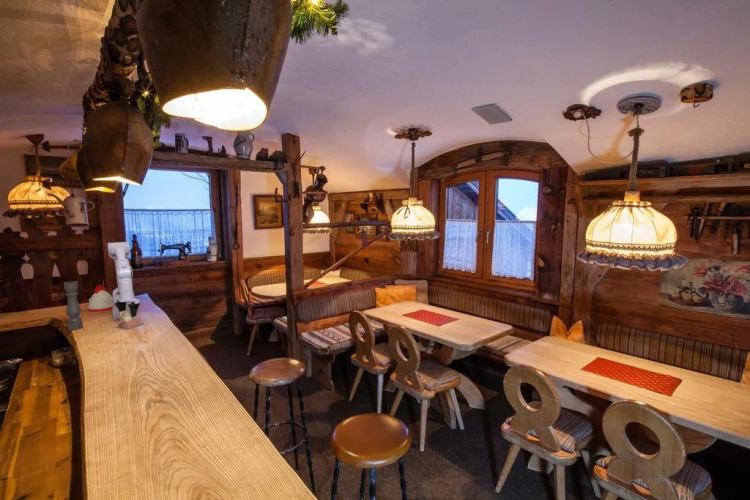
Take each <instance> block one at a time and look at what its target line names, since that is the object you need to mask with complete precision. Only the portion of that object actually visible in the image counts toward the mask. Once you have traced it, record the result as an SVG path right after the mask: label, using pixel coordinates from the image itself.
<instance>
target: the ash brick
mask: <svg viewBox="0 0 750 500" xmlns="http://www.w3.org/2000/svg"><path fill="white" fill-rule="evenodd" d="M135 319H138V317H137V315H136V316H135V317H132V316H131V312H130V310H126V311H123V312H120V319H119V321H120V322H129V321H132V320H135Z"/></svg>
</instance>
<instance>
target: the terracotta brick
mask: <svg viewBox="0 0 750 500" xmlns="http://www.w3.org/2000/svg"><path fill="white" fill-rule="evenodd" d="M140 323H141V319H140V318H137V319H135V320H132V321H129V322H120V320H118V321H117V326H118V327H120V328H127V329H128V328H131V327H134V326H137V325H140Z"/></svg>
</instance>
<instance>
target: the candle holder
mask: <svg viewBox="0 0 750 500" xmlns="http://www.w3.org/2000/svg"><path fill="white" fill-rule="evenodd" d="M63 288H64V291H65V292H66V293H65V296H66V298H67V306H66V315H67V316H68V320H67V331H70V332H74V331H73V330H75V331H77V330H80V329H83V328H84V325H83V320H82V318H81V317H80V316H81V312H82V308H81V307H80V304H79V301H78V295H79V292H78V289H79V282H78V280H75V281H74V280H73V281H72V280H71V281H65V282H63Z"/></svg>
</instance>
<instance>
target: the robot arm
mask: <svg viewBox="0 0 750 500" xmlns="http://www.w3.org/2000/svg"><path fill="white" fill-rule="evenodd" d="M107 251H108V256H109V258H110V259H112V260H113V262H114V265H115V273H116V284H117V287H116V288H115V289H114V290H113V291H112V297H113V304H115V305H114V306H113V309H112V317H113V319H118V320H120V312H123V311H126V310H130V312H131V316H132V317H135V316H137V313H138V309H139V307H140V305H141V302H140V299H139V298H135V293H134V289H133V288H134V287H133V275H134V273H133V268H132V266H131V264H130V261H129V259H128V257H129V255H130V251H131V248H130V243H129V242H128V241H122V242H121V241H118V242H108V243H107Z"/></svg>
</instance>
